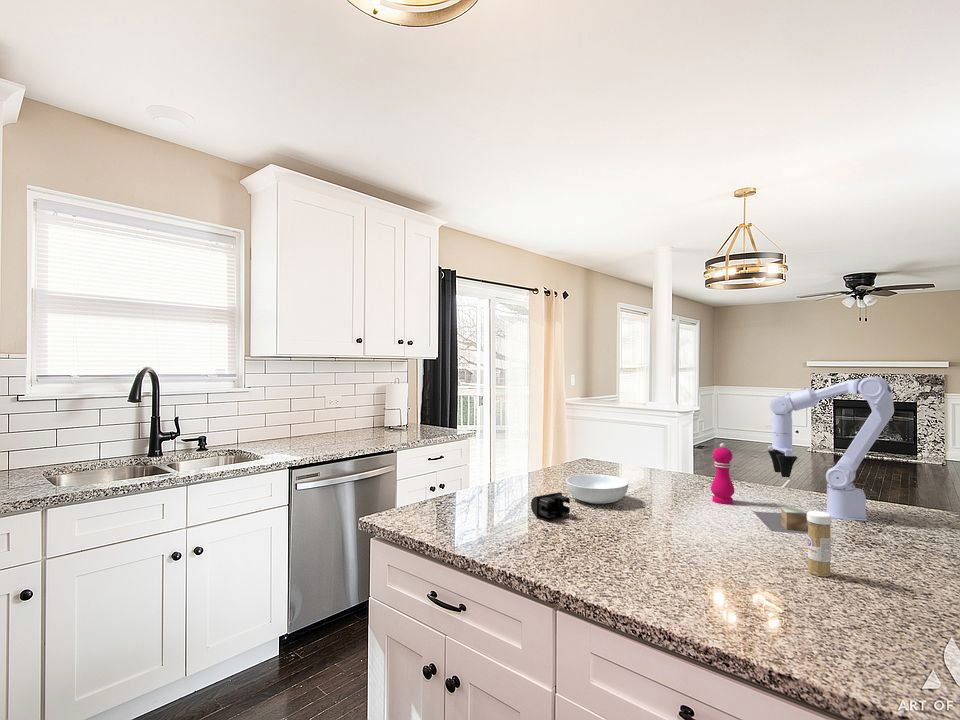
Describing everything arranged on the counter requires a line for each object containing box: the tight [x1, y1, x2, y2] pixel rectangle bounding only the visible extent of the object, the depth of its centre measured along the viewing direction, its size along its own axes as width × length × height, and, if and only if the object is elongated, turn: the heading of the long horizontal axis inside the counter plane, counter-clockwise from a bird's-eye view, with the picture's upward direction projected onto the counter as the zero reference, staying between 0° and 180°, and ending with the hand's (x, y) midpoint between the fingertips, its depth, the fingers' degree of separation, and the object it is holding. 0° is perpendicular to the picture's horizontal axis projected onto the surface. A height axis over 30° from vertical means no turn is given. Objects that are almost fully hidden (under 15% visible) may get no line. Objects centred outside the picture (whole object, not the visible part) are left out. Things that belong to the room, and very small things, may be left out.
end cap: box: [530, 491, 571, 523], centre depth 160 cm, size 10×7×7 cm
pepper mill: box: [710, 442, 735, 505], centre depth 177 cm, size 7×7×20 cm
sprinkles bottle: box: [806, 510, 832, 578], centre depth 117 cm, size 5×5×14 cm
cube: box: [780, 506, 808, 531], centre depth 149 cm, size 5×5×5 cm
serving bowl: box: [565, 473, 630, 505], centre depth 179 cm, size 21×21×7 cm
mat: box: [752, 511, 808, 535], centre depth 154 cm, size 14×20×1 cm
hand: (782, 474), depth 172 cm, fingers open, 7 cm apart
